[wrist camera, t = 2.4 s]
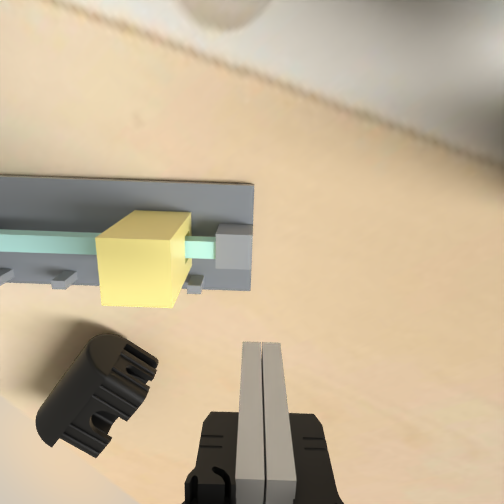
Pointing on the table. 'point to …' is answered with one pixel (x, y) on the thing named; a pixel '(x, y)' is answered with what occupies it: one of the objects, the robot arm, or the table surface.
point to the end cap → (96, 393)
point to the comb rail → (109, 213)
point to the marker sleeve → (144, 259)
